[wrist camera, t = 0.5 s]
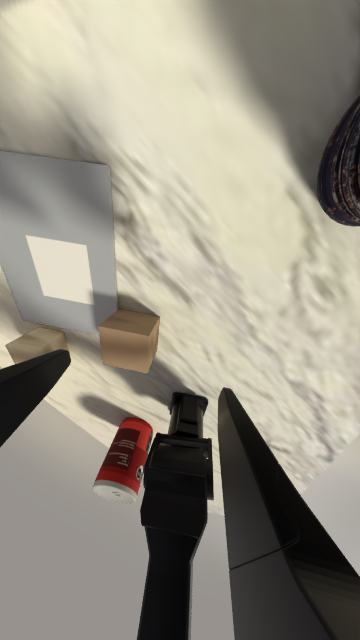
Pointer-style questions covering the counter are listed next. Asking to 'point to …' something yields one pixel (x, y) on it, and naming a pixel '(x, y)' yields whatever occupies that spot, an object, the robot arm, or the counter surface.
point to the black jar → (342, 170)
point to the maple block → (36, 344)
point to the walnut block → (129, 340)
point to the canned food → (125, 462)
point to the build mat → (58, 240)
